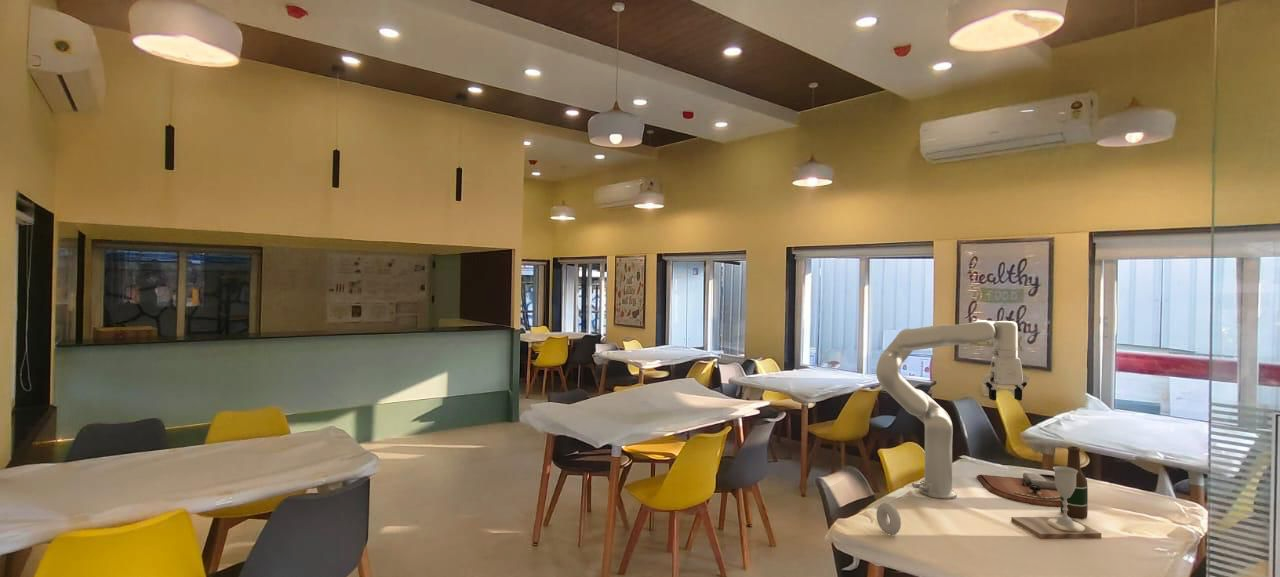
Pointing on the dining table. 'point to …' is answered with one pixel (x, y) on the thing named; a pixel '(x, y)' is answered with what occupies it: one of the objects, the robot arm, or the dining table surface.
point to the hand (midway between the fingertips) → (1005, 399)
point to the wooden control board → (1024, 488)
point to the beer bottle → (1080, 495)
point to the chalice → (1065, 490)
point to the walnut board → (1054, 528)
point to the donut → (893, 515)
